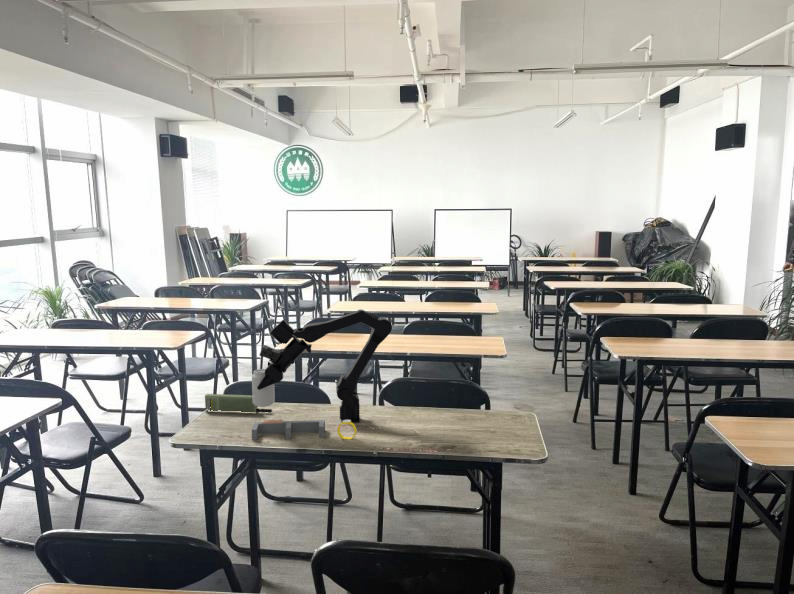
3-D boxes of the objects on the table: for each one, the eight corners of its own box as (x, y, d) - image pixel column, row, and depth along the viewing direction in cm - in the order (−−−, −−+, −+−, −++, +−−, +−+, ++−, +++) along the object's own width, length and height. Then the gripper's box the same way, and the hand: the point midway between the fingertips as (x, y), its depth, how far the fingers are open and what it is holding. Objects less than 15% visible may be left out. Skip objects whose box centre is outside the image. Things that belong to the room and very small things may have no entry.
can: (250, 403, 201) (249, 369, 200) (271, 400, 205) (270, 366, 203) (255, 408, 194) (254, 373, 193) (277, 405, 198) (276, 371, 197)
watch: (337, 440, 184) (335, 422, 184) (340, 437, 187) (338, 419, 187) (355, 440, 183) (353, 422, 183) (357, 437, 186) (356, 419, 185)
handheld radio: (208, 410, 216) (273, 412, 213) (204, 413, 212) (270, 415, 209) (207, 393, 215) (272, 395, 212) (203, 395, 211) (269, 398, 208)
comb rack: (324, 429, 193) (324, 418, 193) (325, 437, 186) (324, 424, 186) (254, 432, 190) (254, 420, 190) (251, 440, 183) (251, 427, 183)
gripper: (275, 332, 207) (245, 364, 206) (271, 342, 188) (237, 376, 188) (298, 353, 209) (268, 384, 208) (296, 365, 190) (263, 399, 190)
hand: (259, 385), depth 199 cm, fingers closed on can, 7 cm apart
